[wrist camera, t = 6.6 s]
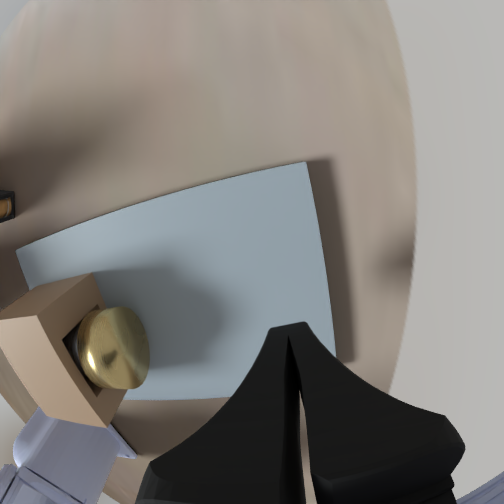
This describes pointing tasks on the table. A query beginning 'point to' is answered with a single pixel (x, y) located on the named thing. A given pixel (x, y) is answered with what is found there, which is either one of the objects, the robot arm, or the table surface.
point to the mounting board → (173, 290)
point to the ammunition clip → (6, 205)
